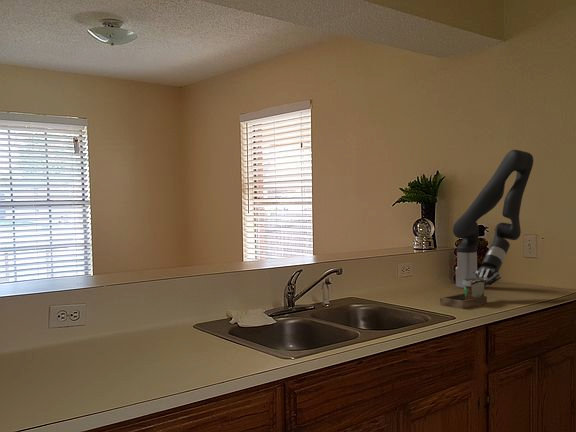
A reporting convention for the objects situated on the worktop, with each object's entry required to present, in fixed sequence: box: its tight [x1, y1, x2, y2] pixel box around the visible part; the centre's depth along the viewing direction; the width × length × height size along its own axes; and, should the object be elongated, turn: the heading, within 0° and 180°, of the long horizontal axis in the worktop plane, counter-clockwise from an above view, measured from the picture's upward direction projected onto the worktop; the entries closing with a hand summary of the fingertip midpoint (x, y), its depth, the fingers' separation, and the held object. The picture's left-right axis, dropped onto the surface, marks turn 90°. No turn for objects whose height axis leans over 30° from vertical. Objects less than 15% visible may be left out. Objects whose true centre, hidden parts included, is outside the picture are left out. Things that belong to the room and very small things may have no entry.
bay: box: [439, 292, 488, 310], centre depth 220 cm, size 11×16×3 cm
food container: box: [462, 277, 485, 300], centre depth 222 cm, size 12×6×10 cm, turn 133°
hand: (478, 291), depth 225 cm, fingers closed
